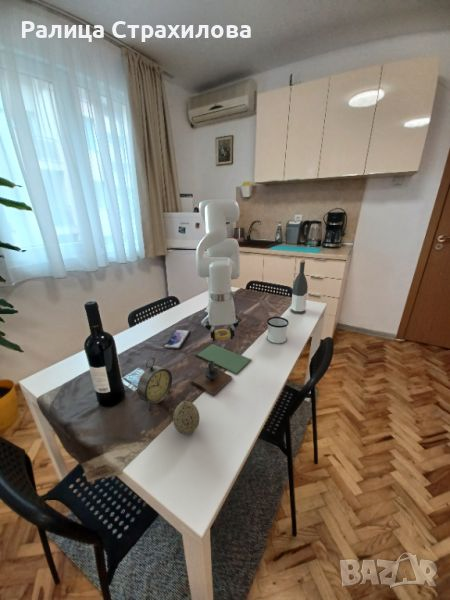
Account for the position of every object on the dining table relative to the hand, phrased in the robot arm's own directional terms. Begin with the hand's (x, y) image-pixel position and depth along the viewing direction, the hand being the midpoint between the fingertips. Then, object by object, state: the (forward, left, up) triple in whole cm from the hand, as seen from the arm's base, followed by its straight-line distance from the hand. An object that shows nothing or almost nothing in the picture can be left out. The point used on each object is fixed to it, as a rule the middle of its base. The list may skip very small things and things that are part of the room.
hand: (222, 338), depth 93 cm
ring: (0, 0, +1) cm, 1 cm away
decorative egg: (+12, -32, -10) cm, 35 cm away
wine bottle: (+8, +60, -10) cm, 62 cm away
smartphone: (-26, -1, -10) cm, 28 cm away
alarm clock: (-4, -30, -10) cm, 32 cm away
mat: (0, 0, -10) cm, 10 cm away
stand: (+5, -13, -10) cm, 17 cm away
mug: (+11, +27, -10) cm, 31 cm away
